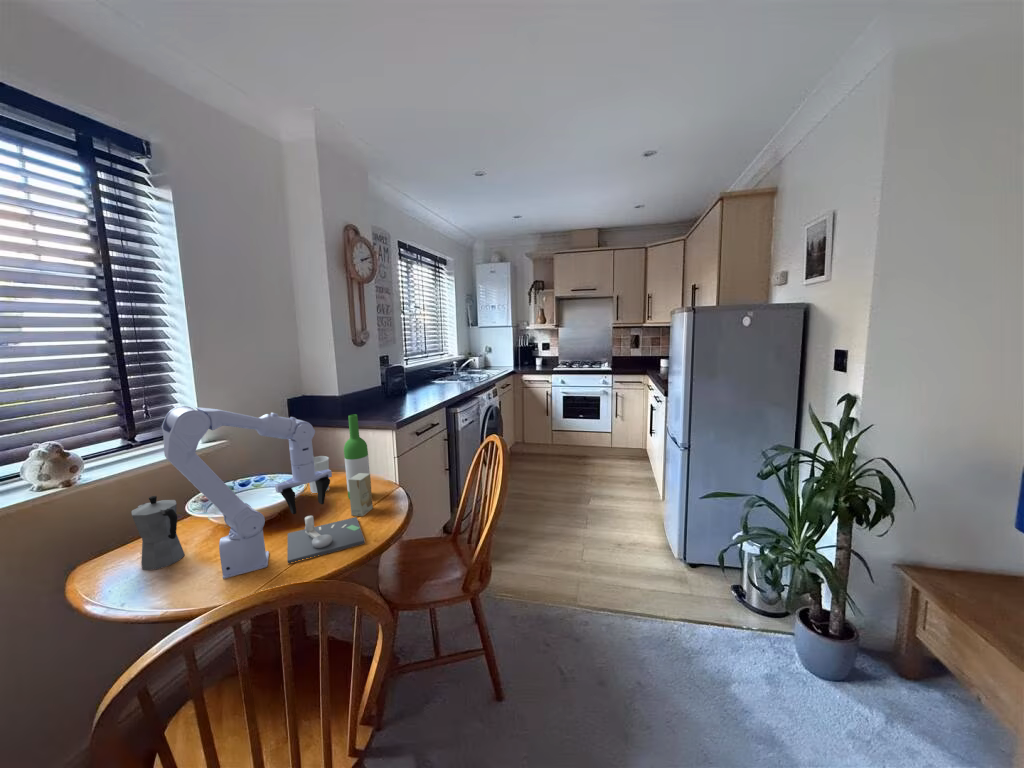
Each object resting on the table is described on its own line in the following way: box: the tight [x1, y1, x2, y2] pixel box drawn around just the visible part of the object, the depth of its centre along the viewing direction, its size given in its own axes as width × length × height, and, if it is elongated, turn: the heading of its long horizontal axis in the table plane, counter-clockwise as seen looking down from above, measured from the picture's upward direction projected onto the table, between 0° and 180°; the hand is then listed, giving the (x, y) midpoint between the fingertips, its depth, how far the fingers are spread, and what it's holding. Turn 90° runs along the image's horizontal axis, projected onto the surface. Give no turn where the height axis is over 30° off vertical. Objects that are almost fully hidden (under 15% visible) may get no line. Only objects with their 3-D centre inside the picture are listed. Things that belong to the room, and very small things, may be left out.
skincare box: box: [349, 473, 374, 517], centre depth 132 cm, size 6×4×12 cm
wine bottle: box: [343, 413, 371, 500], centre depth 141 cm, size 8×8×30 cm
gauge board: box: [286, 516, 366, 564], centre depth 115 cm, size 19×16×1 cm
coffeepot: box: [131, 495, 185, 571], centre depth 106 cm, size 15×9×18 cm, turn 67°
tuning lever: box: [304, 515, 332, 548], centre depth 114 cm, size 14×5×5 cm, turn 49°
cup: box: [308, 455, 330, 494], centre depth 150 cm, size 8×8×12 cm
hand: (307, 507), depth 115 cm, fingers open, 7 cm apart
